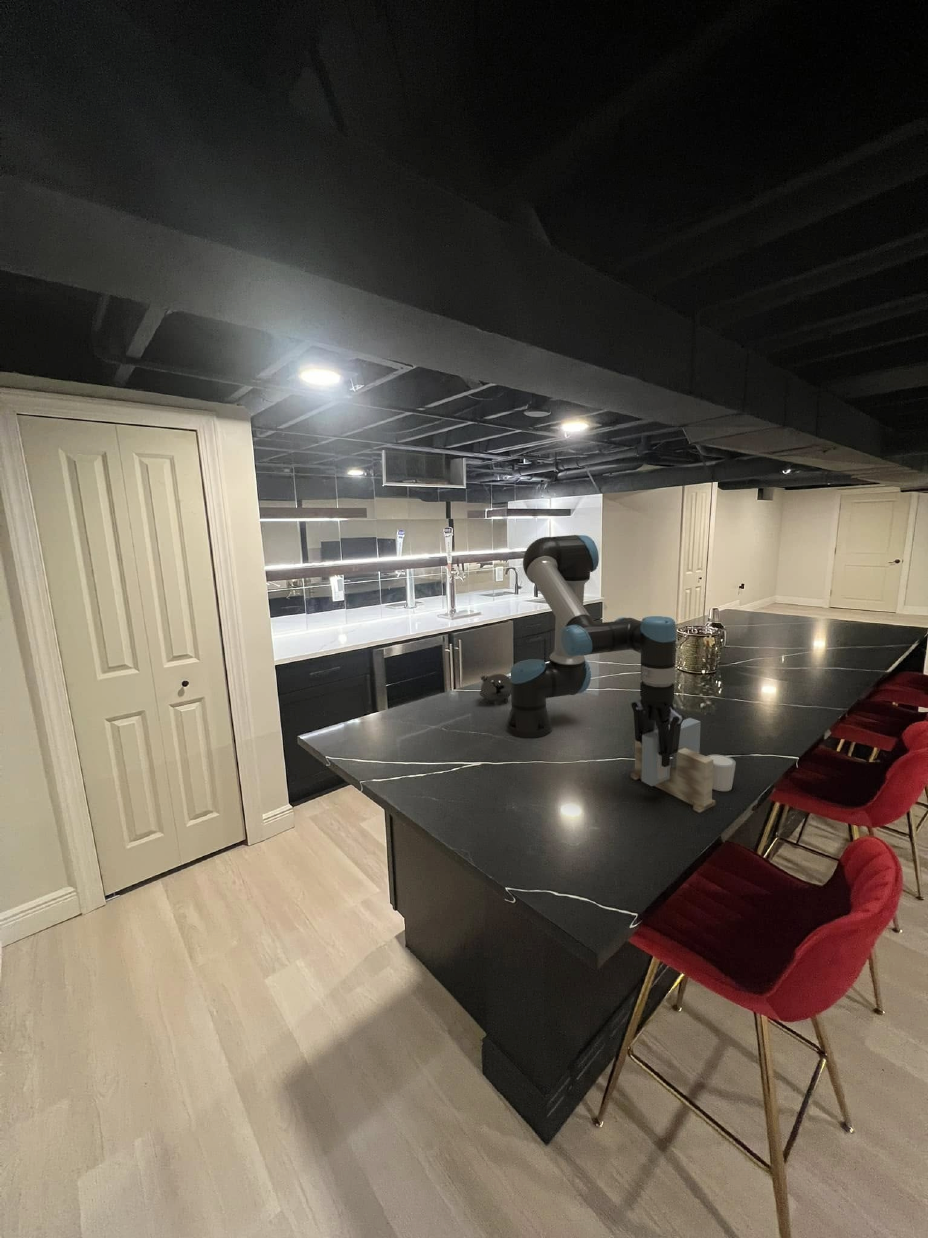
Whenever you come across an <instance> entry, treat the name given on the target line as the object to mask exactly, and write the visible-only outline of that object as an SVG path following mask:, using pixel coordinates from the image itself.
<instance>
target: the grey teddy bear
mask: <svg viewBox="0 0 928 1238" xmlns="http://www.w3.org/2000/svg"><path fill="white" fill-rule="evenodd" d="M510 677H511V675H508V676H507V674H503V673H494V674H490V675H482V676H480V680H481V681H482V684H481V685H480V686H481V687H480V691H479V696H480V697H481V698H484V700H486V703H488V702H490V703H493V705H494V706H495V705H498V706H499V704H500V702H503V703H504V704H508V703H509V697H511V682H510ZM507 702H508V703H507Z"/></svg>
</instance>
